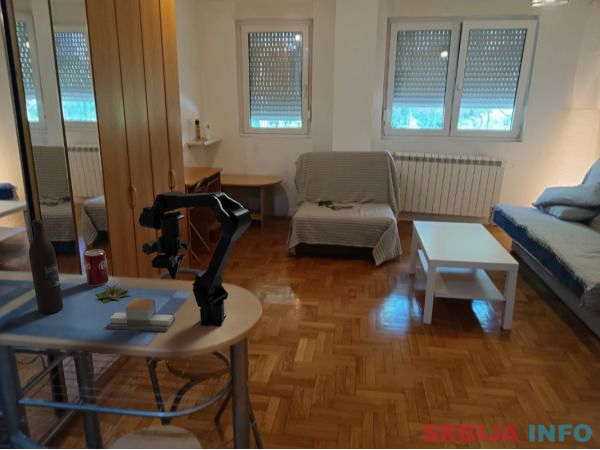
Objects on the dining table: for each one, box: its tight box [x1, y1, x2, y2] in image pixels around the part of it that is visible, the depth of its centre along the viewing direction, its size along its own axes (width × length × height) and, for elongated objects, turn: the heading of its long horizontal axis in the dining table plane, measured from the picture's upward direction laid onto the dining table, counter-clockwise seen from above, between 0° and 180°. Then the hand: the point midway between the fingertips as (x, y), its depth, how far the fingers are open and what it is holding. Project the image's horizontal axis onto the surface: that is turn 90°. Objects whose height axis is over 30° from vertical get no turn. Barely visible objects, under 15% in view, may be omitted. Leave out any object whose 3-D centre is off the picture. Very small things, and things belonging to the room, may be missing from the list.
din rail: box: [107, 312, 176, 332], centre depth 132 cm, size 18×7×2 cm, turn 86°
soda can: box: [83, 249, 110, 287], centre depth 160 cm, size 7×7×12 cm
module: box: [125, 297, 157, 326], centre depth 132 cm, size 6×6×6 cm
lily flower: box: [95, 282, 131, 304], centre depth 151 cm, size 12×12×5 cm
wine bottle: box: [28, 219, 64, 315], centre depth 136 cm, size 7×7×30 cm
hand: (173, 278), depth 139 cm, fingers closed
